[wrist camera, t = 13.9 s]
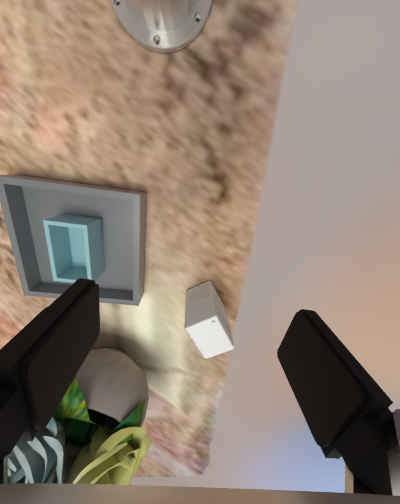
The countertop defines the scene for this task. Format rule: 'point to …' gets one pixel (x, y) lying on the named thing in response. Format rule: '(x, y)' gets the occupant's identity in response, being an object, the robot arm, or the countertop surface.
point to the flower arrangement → (90, 428)
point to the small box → (207, 320)
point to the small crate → (75, 247)
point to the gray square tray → (80, 203)
